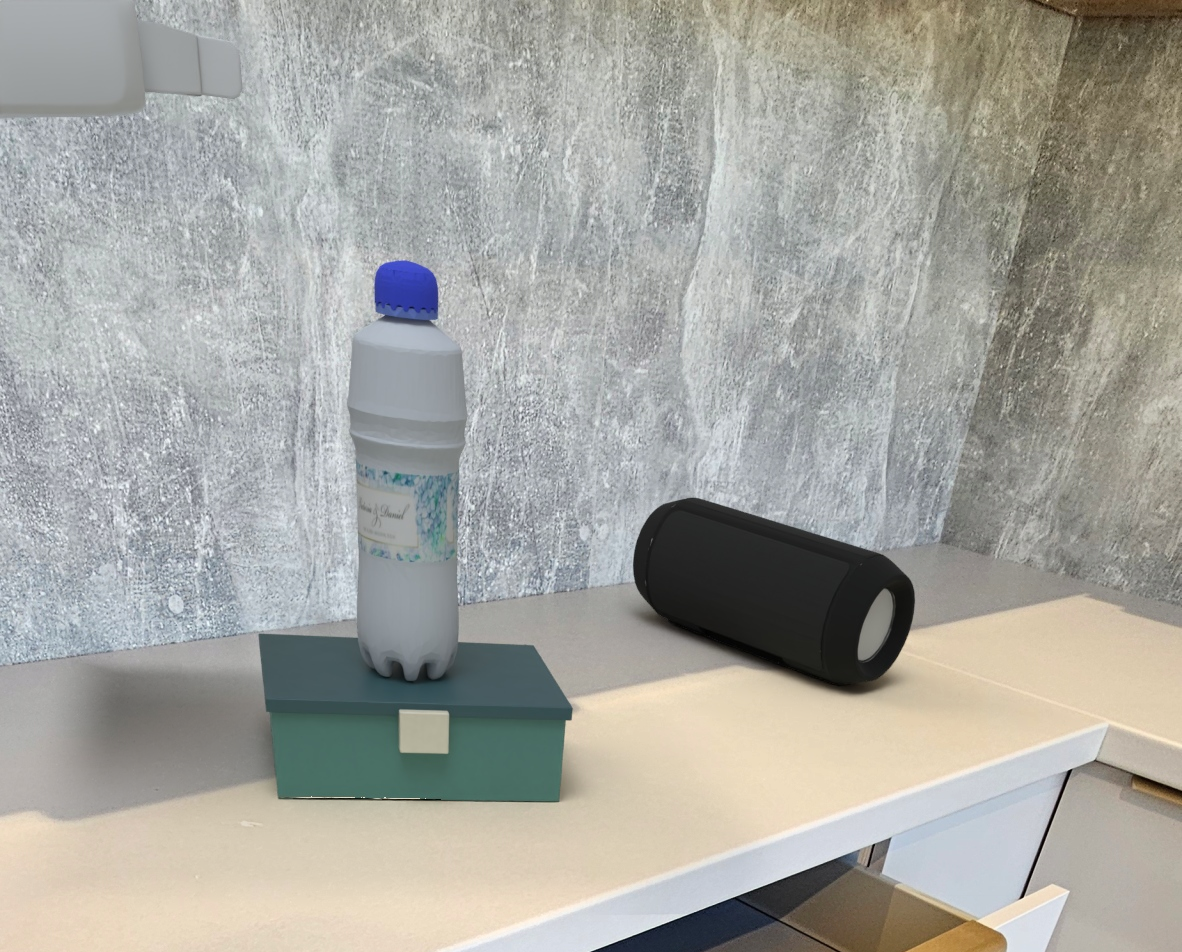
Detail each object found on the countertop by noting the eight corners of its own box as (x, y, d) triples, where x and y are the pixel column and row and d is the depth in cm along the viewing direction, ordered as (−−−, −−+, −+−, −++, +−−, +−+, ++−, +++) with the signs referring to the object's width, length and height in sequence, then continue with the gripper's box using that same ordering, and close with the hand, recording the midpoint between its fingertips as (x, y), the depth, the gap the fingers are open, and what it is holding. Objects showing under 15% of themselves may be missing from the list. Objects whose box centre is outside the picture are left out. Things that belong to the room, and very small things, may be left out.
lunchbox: (273, 803, 73) (265, 701, 69) (265, 725, 83) (258, 630, 79) (566, 806, 78) (574, 710, 73) (526, 731, 87) (532, 642, 83)
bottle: (332, 666, 75) (314, 249, 61) (402, 647, 79) (401, 253, 65) (414, 695, 72) (414, 268, 59) (482, 674, 77) (497, 271, 63)
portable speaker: (901, 685, 105) (935, 556, 98) (836, 702, 100) (866, 567, 93) (688, 607, 117) (705, 487, 110) (619, 618, 112) (632, 494, 105)
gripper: (-92, 118, 59) (193, 155, 64) (-92, 130, 46) (268, 175, 51) (-132, -71, 55) (177, -16, 60) (-144, -118, 42) (255, -43, 46)
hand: (220, 72), depth 55 cm, fingers open, 8 cm apart
